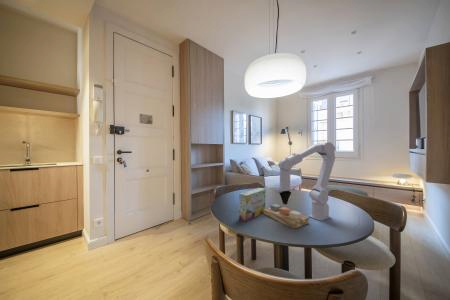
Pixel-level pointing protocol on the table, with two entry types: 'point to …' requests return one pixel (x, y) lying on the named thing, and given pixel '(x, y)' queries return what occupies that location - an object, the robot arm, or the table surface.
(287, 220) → the key console
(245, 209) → the snack box
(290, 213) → the cream key
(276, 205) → the slate key
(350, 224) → the table surface
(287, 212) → the terracotta key
